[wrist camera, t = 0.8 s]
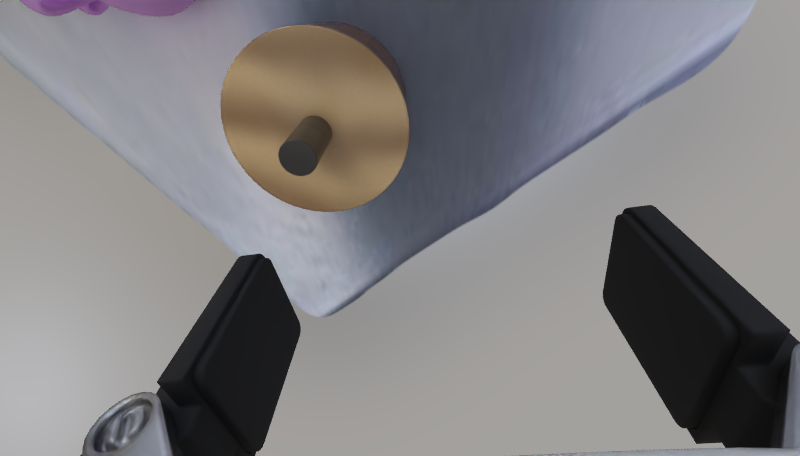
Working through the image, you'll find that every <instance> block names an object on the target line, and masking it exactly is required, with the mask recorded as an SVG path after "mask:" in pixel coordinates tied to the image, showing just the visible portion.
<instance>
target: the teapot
mask: <svg viewBox="0 0 800 456" xmlns="http://www.w3.org/2000/svg"><path fill="white" fill-rule="evenodd" d="M19 1H20V2H22V3H23V4H24V5H25V6H27V7H28V8H30V9H32V10H33V11H35V12H37V13H40V14H43V15H47V16H58V15H62V14H65V13H68V12H71V11H73V10H76V9H78V8H79V9H80V10H82V11H83V12H85V13H87V14H91V15H100V14H102V13H103V12H104V11H105V10H106V9H107V8H108V7H109V6H113V7H115V8H118V9H121V10H124V11H128V12H132V13H136V14H140V15H146V16H169V15H174V14H176V13H179V12H181V11H183V10H184V9H185V8H187V7H188V6H190V5H191V4H192V3H193V2H194V1H195V0H19Z"/></svg>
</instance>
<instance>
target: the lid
mask: <svg viewBox="0 0 800 456" xmlns="http://www.w3.org/2000/svg"><path fill="white" fill-rule="evenodd" d="M221 119H222V124H223V129H224V132H225V135H226V138H227V142H228V144H229V146H230V148H231V150H232V152H233V154H234V156H235V157H236V159H237V161H238V162H239V164H240V165H241V166H242V168H243V169H244V170H245V172H246V173H247V174H248V175H249V176H250V177H251V178H252V179H253V180H254V181H255V182H256V183H257V184H258V185H259V186H261V187H262V188H263V189H264V190H266V191H267V192H269V193H270V194H271V195H273V196H275V197H276V198H278V199H280V200H282V201H284V202H286V203H289V204H291V205H293V206H297V207H300V208H303V209H308V210H313V211H323V212H333V211H342V210H348V209H351V208H355V207H358V206H360V205H363V204H365V203H367V202H369V201H370V200H372V199H374V198H376V197H377V196H378V195H379V194H381V193H382V192H383V191H384V190H385V189H386V188H387V187H388V186H389V185H390V184H391V183H392V182H393V180H394V179H395V177H396V176H397V174H398V173H399V171H400V169H401V167H402V165H403V162H404V160H405V157H406V153H407V149H408V144H409V133H410V129H409V116H408V110H407V106H406V102H405V99H404V96H403V93H402V91H401V89H400V87H399V85H398V82H397V81H396V79H395V78H394V76H393V74H392V73H391V71H390V70H389V68H388V67H387V66H386V65H385V64H384V62H383V61H382V60H381V59H380V58H379V57H378V56H377V55H376V54H375V53H374V52H373V51H372V50H371V49H369V48H368V47H367V46H365V45H364V44H363V43H361V42H360V41H358V40H356V39H355V38H353V37H351V36H349V35H347V34H345V33H343V32H340V31H337V30H335V29H332V28H328V27H323V26H319V25H308V24H302V25H290V26H285V27H281V28H277V29H274V30H272V31H269V32H267V33H264V34H262V35H261V36H259V37H257V38H256V39H254V40H252V41H251V42H250V43H249V44H248V45H247V46H246V47H244V48H243V49H242V50H241V52H240V53H239V54H238V55H237V56H236V58H235V59H234V61H233V63H232V64H231V66H230V68H229V69H228V72H227V75H226V77H225V80H224V84H223V88H222V93H221Z"/></svg>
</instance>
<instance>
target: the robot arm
mask: <svg viewBox="0 0 800 456" xmlns="http://www.w3.org/2000/svg"><path fill="white" fill-rule="evenodd" d="M603 299H604V303H605V305H606V307H607V309H608V310H609V312H610V313H611V315H612V317H613V319H614V320H615V322H616V324H617V325H618V327H619V329H620V330H621V332H622V334H623V335H624V337H625V339H626V340H627V342H628V344H629V345H630V347H631V349H632V350H633V352H634V354H635V355H636V357H637V359H638V360H639V362H640V364H641V365H642V367H643V368H644V370H645V372H646V374H647V375H648V377H649V379H650V380H651V382H652V384H653V385H654V387H655V389H656V390H657V392H658V394H659V395H660V397H661V398H662V400H663V402H664V404H665V405H666V407H667V408H668V410H669V412H670V414H671V415H672V417H673V419H674V420H675V422H676V423H677V424H678V425H679V426H680V427H682V428H687V429H688V431H689V432H690V434H691V436H692V437H693V439H694V441H695V442H696V444H701V443H721V442H722V443H723V445H724V446H725V447H726V448H706V449H666V450H636V451H615V452H614V451H613V452H590V453H569V454H544V455H520V456H800V342H799V341H797V340H796V339H795V338H794V337H793V336H792V335H791V334H790V333H789V332H790V329H788V328H787V327H786V326H785V325H784V324H783V323H782V322H781V321H780V320H779V319H777V318H776V317H775V316H774V315H773V314H772V313H771V312H770V311H769V310H768V309H766V308H765V307H764V306H763V305H762V304H761V303H760V302H759V301H758V300H757V299H755V298H754V297H753V296H752V295H751V294H750V293H749V292H748V291H747V290H746V289H745V288H743V287H742V286H741V285H740V284H739V283H738V282H737V281H736V280H735V279H733V278H732V277H731V276H730V275H729V274H728V273H727V272H726V271H725V270H724V269H723V268H721V267H720V266H719V265H718V264H717V263H716V262H715V261H714V260H713V259H712V258H710V257H709V256H708V255H707V254H706V253H705V252H704V251H703V250H701V248H700V247H698V246H697V245H696V244H695V243H694V242H693V241H692V240H691V239H690V238H688V237H687V236H686V235H685V234H684V233H683V232H682V231H681V230H680V229H678V228H677V227H676V226H675V225H674V224H673V223H672V222H671V221H670V220H669V219H668V218H667V217H665V216H664V215H663V214H662V213H661V212H660V211H659V210H658V209H657V208H656V207H654V206H652V205H647V206H640V207H631V208H626V209H624V211H623V213H622V214H621V215H618V216H617V217H616V220H615V224H614V230H613V236H612V242H611V248H610V254H609V259H608V265H607V272H606V277H605V283H604V289H603ZM299 336H300V323H299V320H298V318H297V316H296V314H295V312H294V310H293V307H292V305H291V303H290V301H289V299H288V296H287V294H286V292H285V290H284V288H283V286H282V283H281V281H280V279H279V277H278V275H277V273H276V270H275V268H274V266H273V264H272V262H271V260H270V259H269V258H265V257H264V256H263V255H262V254H254V255H246V256H241V257H239V258H238V259H237V261H236V262H235V264H234V265H233V267H232V268H231V270H230V271H229V273H228V274H227V276H226V277H225V279H224V280H223V282H222V284H221V285H220V287H219V288H218V290H217V291H216V293H215V294H214V296H213V297H212V299H211V300H210V302H209V303H208V305H207V306H206V308H205V309H204V311H203V313H202V314H201V315H200V317H199V319H198V320H197V322H196V323H195V325H194V326H193V328H192V329H191V331H190V332H189V334H188V336H187V337H186V338H185V340H184V342H183V343H182V344H181V346H180V348H179V349H178V351H177V352H176V354H175V355H174V357H173V358H172V360H171V361H170V363H169V364H168V366H167V368H166V369H165V371H164V372H163V373H162V375H161V377H160V378H159V380H158V381H157V383H158V384H159V385H160V386H161V387H160V388H159V390H158V392H157V393H156V394H153V393H152V392H141V393H137V394H134V395H131V396H129V397H127V398H125V399H123V400H121V401H119V402H118V403H116V404H115V405H114V406H112V407H111V408H109V409H108V410H107V411H106V412H105V413H104V414H103V415H102V416H101V417H99V419H98V420H97V421H96V422H95V424H94V425H93V426H92V427H91V429H90V430H89V432H88V434H87V436H86V438H85V440H84V445H83V453H82V455H81V456H255V454H256V451H259V450H260V449H261V448H262V447H263V444H264V442H265V438H266V436H267V433H268V430H269V426H270V424H271V421H272V418H273V414H274V411H275V408H276V405H277V402H278V399H279V396H280V393H281V390H282V387H283V384H284V381H285V378H286V375H287V372H288V369H289V366H290V363H291V360H292V357H293V354H294V351H295V348H296V345H297V342H298V339H299Z"/></svg>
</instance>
